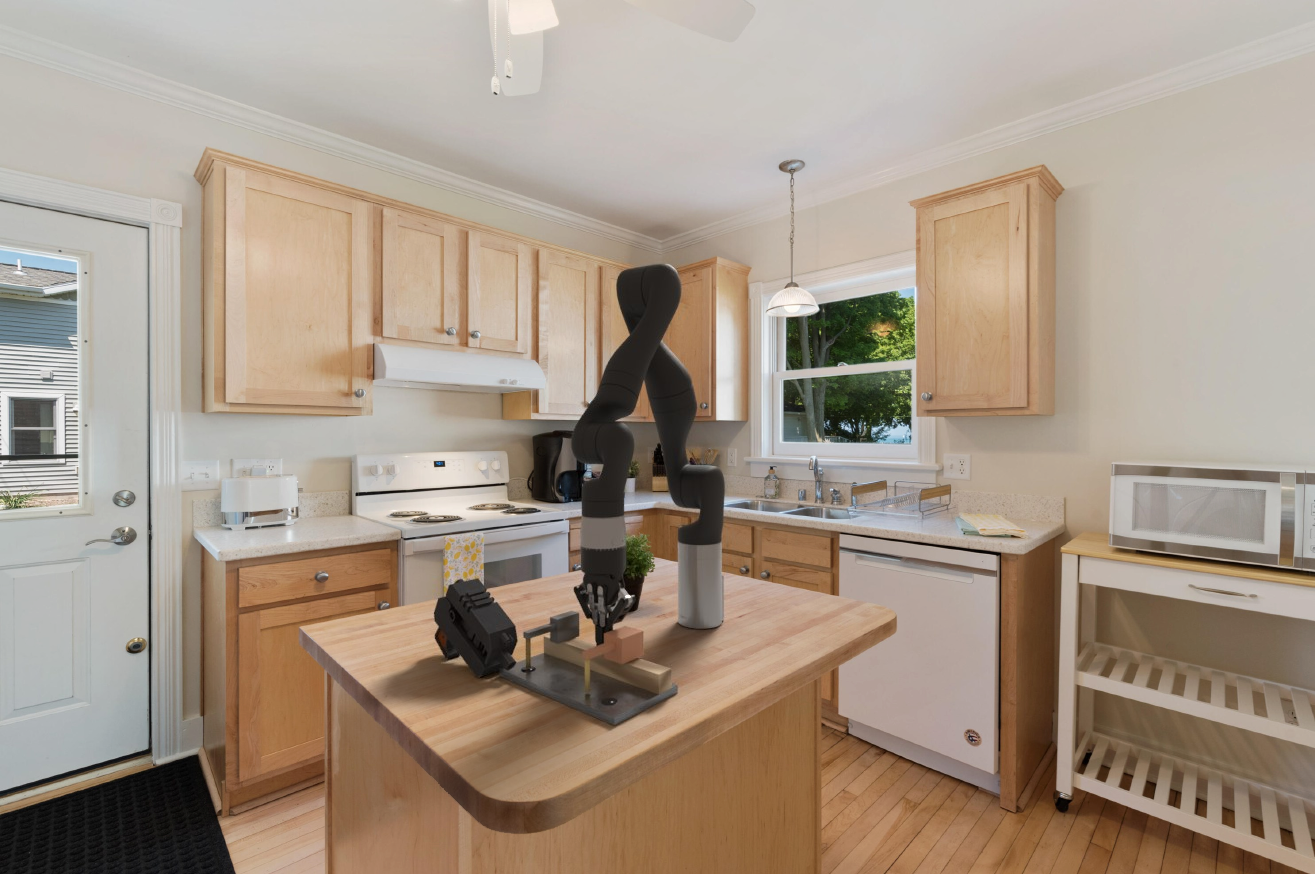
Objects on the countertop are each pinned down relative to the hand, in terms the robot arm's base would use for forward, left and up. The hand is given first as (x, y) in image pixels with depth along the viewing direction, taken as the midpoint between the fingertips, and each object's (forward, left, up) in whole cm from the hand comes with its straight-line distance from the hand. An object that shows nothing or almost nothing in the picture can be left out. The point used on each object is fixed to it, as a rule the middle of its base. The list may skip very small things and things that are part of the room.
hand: (603, 646), depth 103 cm
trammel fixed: (+3, 0, -4) cm, 5 cm away
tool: (+11, -21, -5) cm, 24 cm away
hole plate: (+4, 0, -5) cm, 6 cm away
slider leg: (+3, +5, -3) cm, 6 cm away
